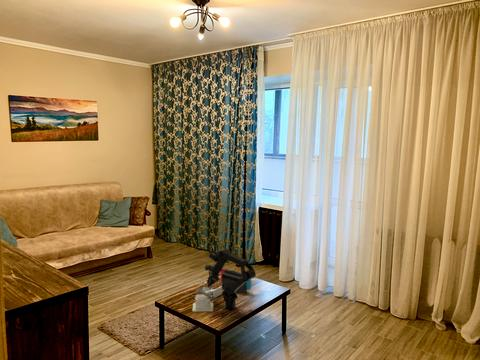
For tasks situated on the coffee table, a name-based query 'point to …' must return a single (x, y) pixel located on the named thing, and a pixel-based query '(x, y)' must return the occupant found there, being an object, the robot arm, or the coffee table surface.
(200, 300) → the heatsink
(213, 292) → the toy car
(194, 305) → the board
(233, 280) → the game console
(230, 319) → the coffee table surface
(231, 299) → the robot arm
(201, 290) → the strap
